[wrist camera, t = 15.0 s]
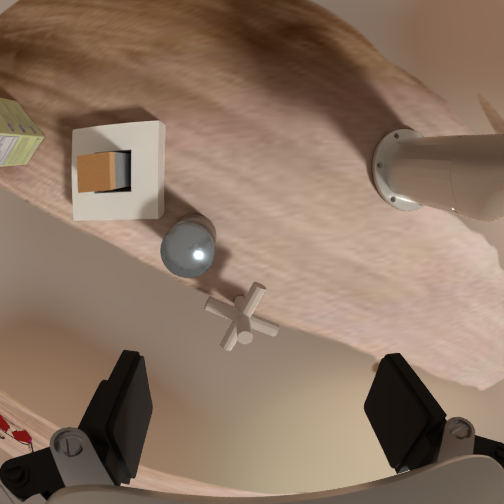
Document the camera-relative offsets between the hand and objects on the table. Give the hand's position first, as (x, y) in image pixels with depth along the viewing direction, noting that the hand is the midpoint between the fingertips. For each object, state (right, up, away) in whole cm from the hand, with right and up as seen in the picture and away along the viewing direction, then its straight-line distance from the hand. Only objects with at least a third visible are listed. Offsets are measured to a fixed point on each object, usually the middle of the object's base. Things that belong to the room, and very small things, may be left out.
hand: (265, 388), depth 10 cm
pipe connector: (-2, -2, +33) cm, 33 cm away
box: (-37, +24, +22) cm, 49 cm away
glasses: (-69, -48, +40) cm, 93 cm away
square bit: (-18, +16, +26) cm, 35 cm away
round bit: (-8, +7, +29) cm, 31 cm away
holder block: (-18, +16, +26) cm, 35 cm away
